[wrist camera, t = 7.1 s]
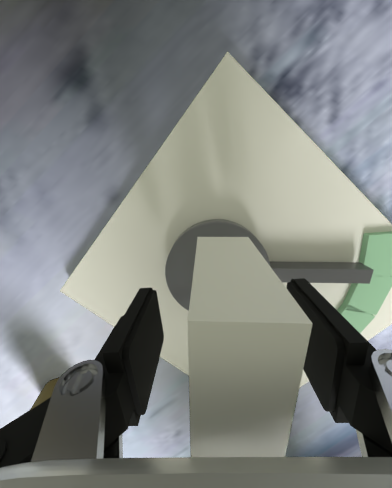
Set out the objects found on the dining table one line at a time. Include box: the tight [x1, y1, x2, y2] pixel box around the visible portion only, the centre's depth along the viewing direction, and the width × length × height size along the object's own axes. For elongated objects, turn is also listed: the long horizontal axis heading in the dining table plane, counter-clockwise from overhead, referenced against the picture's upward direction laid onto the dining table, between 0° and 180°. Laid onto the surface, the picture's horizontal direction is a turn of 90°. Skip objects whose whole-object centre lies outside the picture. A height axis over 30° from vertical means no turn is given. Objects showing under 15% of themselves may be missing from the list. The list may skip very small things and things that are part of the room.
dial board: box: [60, 52, 392, 388], centre depth 16 cm, size 22×20×2 cm
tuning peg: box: [165, 219, 374, 457], centre depth 10 cm, size 14×7×10 cm, turn 90°
